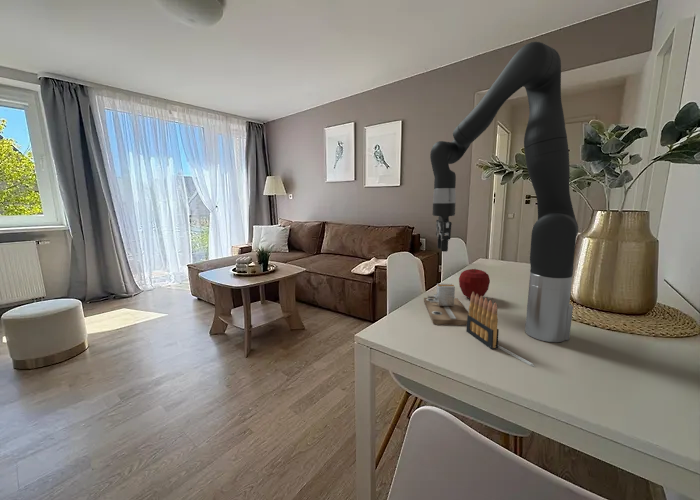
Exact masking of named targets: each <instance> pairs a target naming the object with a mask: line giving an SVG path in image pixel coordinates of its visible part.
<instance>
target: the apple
mask: <svg viewBox="0 0 700 500" xmlns="http://www.w3.org/2000/svg"><path fill="white" fill-rule="evenodd" d="M459 275H460V276H459V278H458V284H459V288H460V291H461V292H462V293H461V294H462V295H463V296H464V297H465V298H467V299H470V300H471V295H472V292H474V294H475V297H476V294H478V295H479V300H480V297H481V296H482V297H484V296H485V295H486V293H487V292H488V291H489V287H490V282H491V279H490V275H489V274H488V273H487V272H486V271H484V270H481V269H476V268H471V269H466V270H464V271H462V272H461V273H460V274H459Z"/></svg>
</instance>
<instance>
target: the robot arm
mask: <svg viewBox="0 0 700 500" xmlns="http://www.w3.org/2000/svg"><path fill="white" fill-rule="evenodd" d="M561 60H562V59H561V57H560V54H559V52H558V51H557V50H556V49H555V48H553V47H551V46H549V45H547V44H546V43H543V42H540V41H531V42H528V43H526V44H524V45H523V46H522V47H520V49H518V51H516V52H515V54H513V56H512V58H510V60H509V61H508V62H507V64H506V65H505V67H504V68H503V70H502V71H501V72H500V74H499V75H498V77H497V78H496V79H495V81H494V82H493V83H492V85H491V86H490V87H489V89H488V90H487V91H486V92H485V94H484V96H483V97H482V98H481V99H480V101H479V102H478V104H476V105H475V107H474V108H473V109H472V110H470V112H469V113H468V114H467V115H466V116H465V117H464V118H463V119H462V120H461V121H460V123H459V124H458V125H457V126H456V127H455V128H454V129H453V131H452V137H453V140H452V141H444V140H440V141H436V142H435V143H433V146H432V147H431V149H430V157H429V159H430V164H431V167H432V172H433V176H434V178H433V179H434V181H433V182H434V183H433V184H434V185H433V188H434V189H433V195H432V215H433V217H437V218H438V219H436V221H435V222H436V224H435V228H436V229H435V230H436V231H435V235H436V238H437V246H436V247H437V249H440V252H445V253H446V252H448V250H449V241H450V240H451V233H452V225H453V224H452V222H451V221H450V217H454V216H455V215H456V199H457V194H456V193H457V192H456V183H457V182H456V180H457V177H456V175H457V174H456V172H455V171H454V170H451V169H450V166H449V165H452V164H455V163H457V162H459V161H460V160H461V159H462V157H464V155H465V154H466V152H467V150H468V149H469V148H470V146H471V145H472V143H473V142H474V141H476V139H478V138H479V137H480V136H481V135H482V134H483V133H484V132H485V131H486V130H487V129H488V128H489V126H490V125H491V124H492V123H493V121H494V119H495V117H496V115H497V114H498V112H499V111H500V109H501V108H502V106H503V105H504V103H506V101H507V100H508V99H509V98H510V97H511V96H513V95H514V94H515V93H516V92H518V91H519V90H520V89H522V88H524V89H525V92H526V96H527V101H528V106H529V107H528V108H529V110H528V111H529V115H528V120H527V124H526V128H525V133H524V137H523V138H524V139H523V150H524V157H525V164H526V168H527V169H526V170H527V172H528V176H529V178H530V181H531V182H530V183H531V185H532V187H533V190H534V193H535V197H536V206H537V220H536V221H535V223H534V224H533V226H532V230H531V235H530V237H531V238H530V251H529V264H530V269H529V270H530V271H529V283H528V295H527V305H526V306H527V307H526V315H525V317H526V318H525V327H524V332H525V333H526V335H528V336H529V337H531V338H534V339H536V340H539V341H543V342H547V343H548V342H549V343H561V342H564V341H570V336H571V327H572V319H573V318H572V317H573V311H574V306H573V305H572V303H570V302H571V291H572V284H573V283H572V281H573V275H574V259H575V249H576V241H577V236H578V233H579V225H578V221H577V218H576V215H575V211H574V207H573V203H572V200H571V199H572V198H571V193H570V179H571V178H570V177H571V176H570V175H571V174H570V173H571V172H570V171H571V170H570V169H571V168H570V153H569V152H570V150H569V143H568V135H567V129H566V128H567V127H566V124H565V123H566V122H565V114H564V108H563V104H562V103H563V101H562V92H561V91H562V90H561V89H562V88H561V87H562V85H561V84H562V61H561Z"/></svg>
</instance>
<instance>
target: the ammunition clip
mask: <svg viewBox="0 0 700 500" xmlns="http://www.w3.org/2000/svg"><path fill="white" fill-rule="evenodd" d="M483 297H484V296H483ZM483 297H482V296H481V297H480V299H479V295H478V294H476V297H475V294H474V292H472V295H471V299H470V300H469V307H468V313H469V315H468V316H467V325H466V329H465V331H466V333H467V334H469V335H470V336H472V337H473V338H475V339H476V340H478V341H479V342H480V343H482V344H483V345H484V346H486V347H487V348H488V349H489V350H497V349H499V348H498V345H499V330H500V329H498V325H499V324H498V322H499V319H498V304H497V302H494V303H493V301H492V299H490V300H489V301H488V298H487V297H485V298H483Z"/></svg>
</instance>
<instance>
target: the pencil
mask: <svg viewBox="0 0 700 500" xmlns="http://www.w3.org/2000/svg"><path fill="white" fill-rule="evenodd" d="M497 349H499V350H501V351H503V352H504V353H506V354H509V355H510V356H511V357H514V358H516V359H518V360H519V361H521V362H523V363H524V364H526V365H528V366H530V367H536V366H535V365H534V363H533V362H530V361H529V360H527V359H525V358H523V357H522V356H519V355H518V354H516V353H514V352H512V351H510V350H508V349H507V348H506V347H504V346H501V345H499V344H498V348H497Z"/></svg>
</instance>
